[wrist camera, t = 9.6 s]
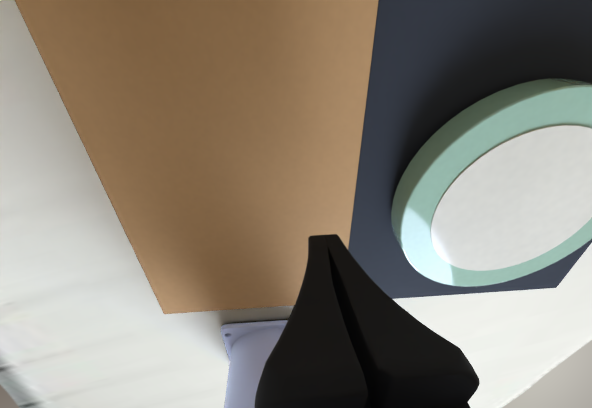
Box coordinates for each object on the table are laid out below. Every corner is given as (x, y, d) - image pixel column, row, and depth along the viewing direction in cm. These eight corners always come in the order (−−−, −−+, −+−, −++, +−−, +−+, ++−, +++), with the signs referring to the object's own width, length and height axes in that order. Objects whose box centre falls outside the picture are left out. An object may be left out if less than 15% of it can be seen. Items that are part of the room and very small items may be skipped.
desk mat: (553, 284, 23) (556, 287, 23) (165, 310, 22) (164, 314, 22) (787, -20, 12) (798, -21, 12) (17, -7, 11) (10, -8, 10)
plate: (543, 260, 21) (567, 281, 19) (374, 270, 20) (383, 293, 19) (673, 72, 14) (730, 80, 12) (414, 79, 13) (435, 89, 11)
